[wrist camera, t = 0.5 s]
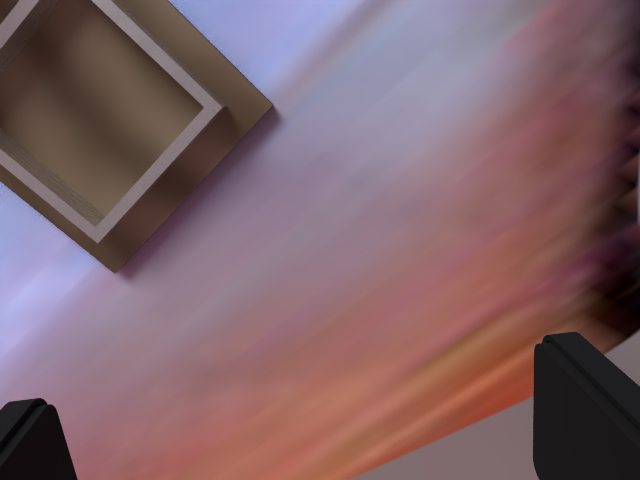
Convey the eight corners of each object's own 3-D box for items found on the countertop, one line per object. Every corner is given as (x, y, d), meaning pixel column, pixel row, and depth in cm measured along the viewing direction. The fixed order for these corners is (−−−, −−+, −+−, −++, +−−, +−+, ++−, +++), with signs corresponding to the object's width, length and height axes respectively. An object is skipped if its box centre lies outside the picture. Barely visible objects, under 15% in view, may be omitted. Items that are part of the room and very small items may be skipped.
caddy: (76, -91, 33) (50, -111, 30) (273, 104, 37) (271, 106, 34) (-79, 107, 36) (-119, 110, 32) (120, 268, 40) (103, 286, 36)
